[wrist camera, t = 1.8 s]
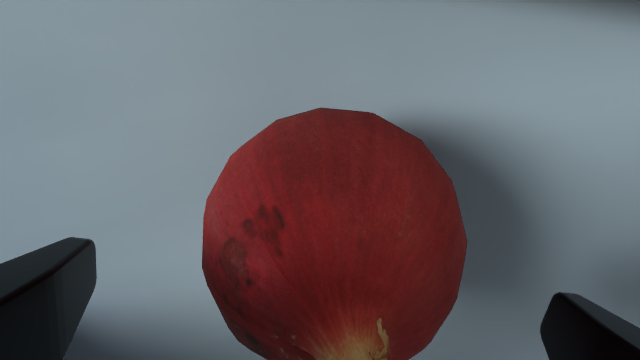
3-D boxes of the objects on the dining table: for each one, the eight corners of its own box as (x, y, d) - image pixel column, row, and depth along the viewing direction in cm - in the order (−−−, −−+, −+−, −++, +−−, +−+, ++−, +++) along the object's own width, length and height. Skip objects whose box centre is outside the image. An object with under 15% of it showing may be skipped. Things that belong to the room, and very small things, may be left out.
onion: (268, 277, 15) (234, 546, 8) (198, 117, 13) (61, 284, 6) (438, 227, 15) (572, 467, 7) (394, 52, 13) (521, 144, 5)
